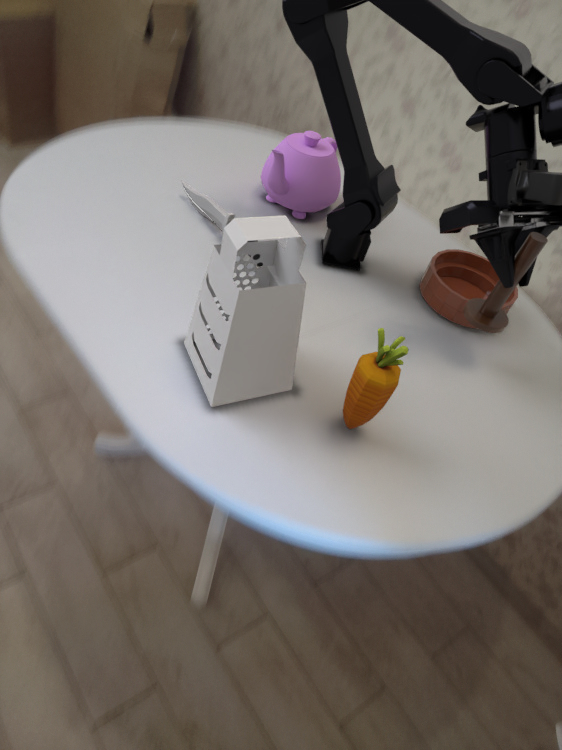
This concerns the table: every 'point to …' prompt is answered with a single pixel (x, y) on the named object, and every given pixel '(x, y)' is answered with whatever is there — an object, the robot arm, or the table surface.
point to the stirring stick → (503, 290)
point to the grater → (249, 312)
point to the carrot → (373, 382)
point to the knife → (212, 211)
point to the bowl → (459, 283)
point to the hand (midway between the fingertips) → (516, 287)
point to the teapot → (303, 173)
